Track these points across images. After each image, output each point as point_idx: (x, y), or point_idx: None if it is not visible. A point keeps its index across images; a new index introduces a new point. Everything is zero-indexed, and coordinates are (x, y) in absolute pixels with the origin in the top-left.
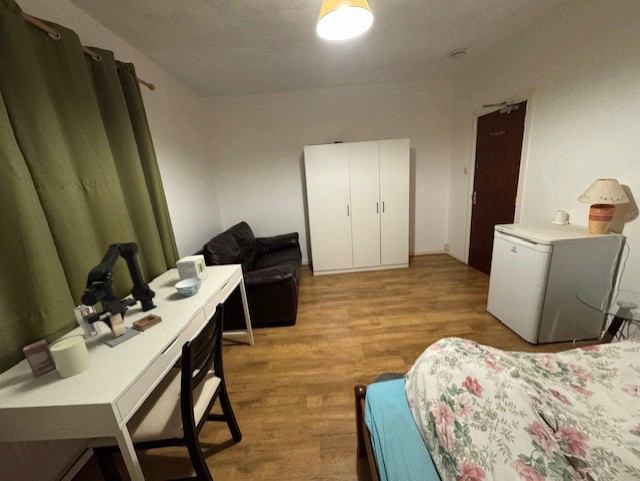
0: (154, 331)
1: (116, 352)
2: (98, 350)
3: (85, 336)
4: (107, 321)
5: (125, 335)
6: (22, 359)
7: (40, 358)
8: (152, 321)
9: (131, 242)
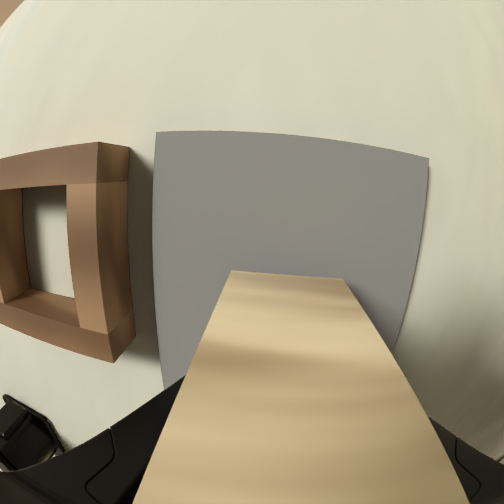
0: (112, 36)
1: (438, 51)
2: (471, 258)
3: None
4: (485, 481)
5: (262, 237)
6: None
7: None
8: (21, 155)
9: None
